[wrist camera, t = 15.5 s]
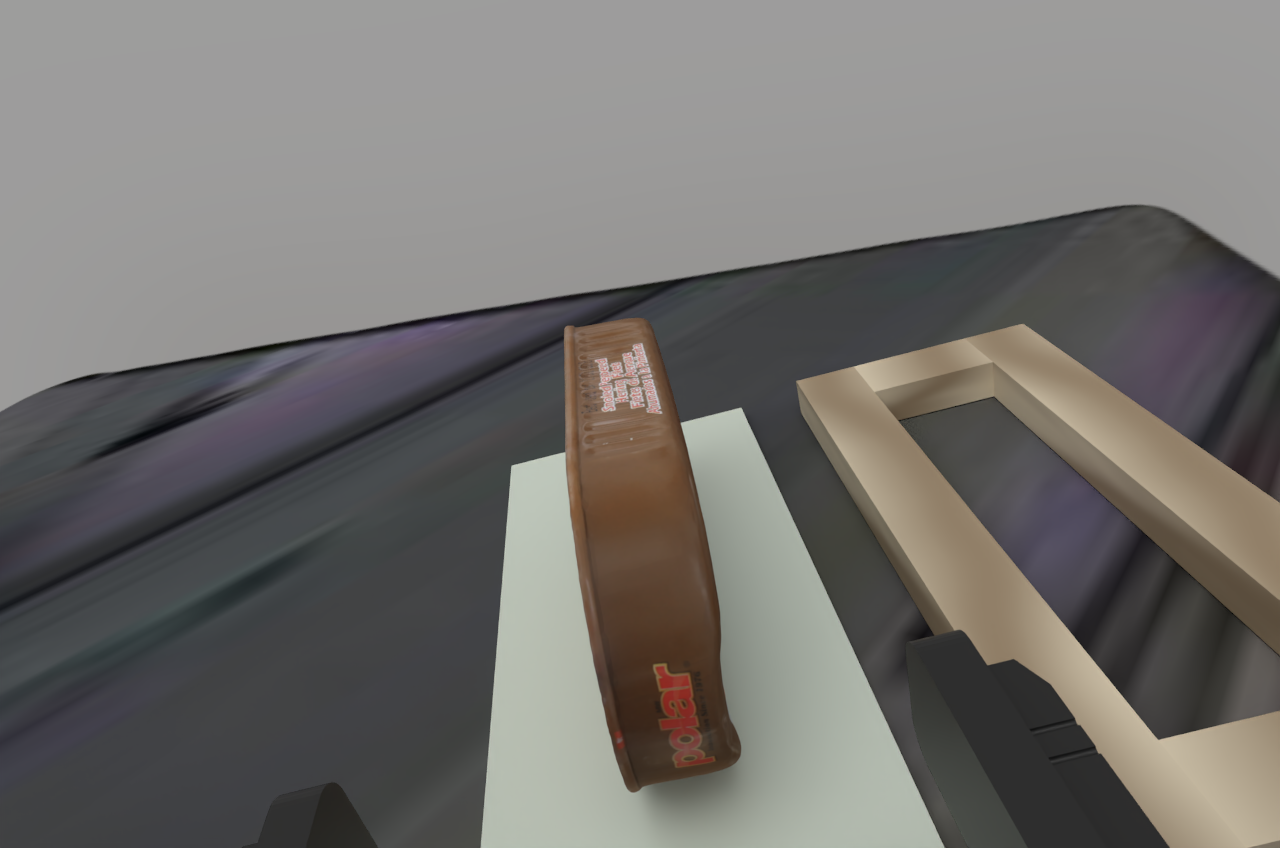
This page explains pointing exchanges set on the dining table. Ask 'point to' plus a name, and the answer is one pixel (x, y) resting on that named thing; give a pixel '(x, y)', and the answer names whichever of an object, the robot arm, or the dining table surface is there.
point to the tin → (643, 559)
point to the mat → (751, 673)
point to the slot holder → (1006, 601)
